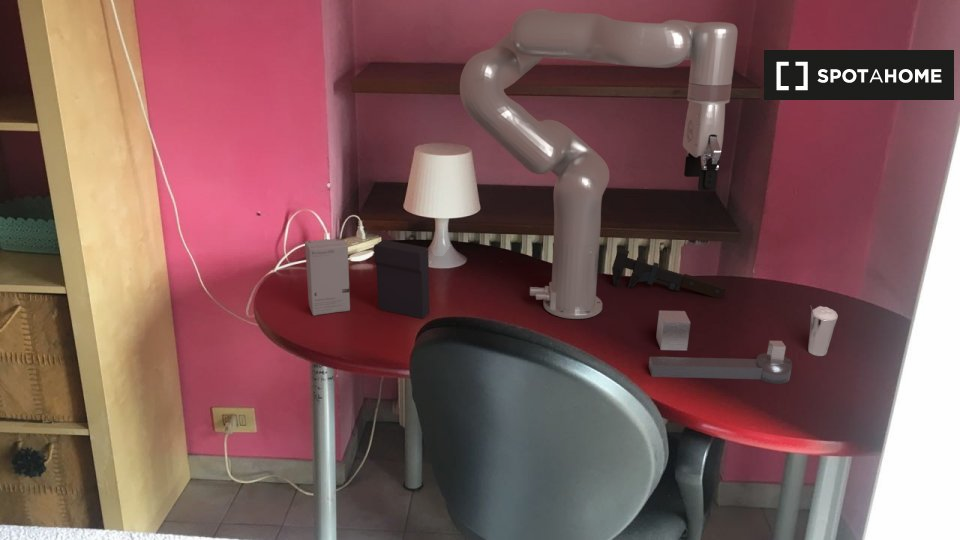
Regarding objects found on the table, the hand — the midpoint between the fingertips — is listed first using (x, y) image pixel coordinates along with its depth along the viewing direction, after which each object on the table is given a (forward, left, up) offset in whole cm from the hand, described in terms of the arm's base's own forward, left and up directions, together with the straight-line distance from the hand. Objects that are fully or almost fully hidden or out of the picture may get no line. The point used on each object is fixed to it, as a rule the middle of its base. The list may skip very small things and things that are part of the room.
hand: (699, 183), depth 146 cm
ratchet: (+2, -21, -30) cm, 37 cm away
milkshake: (+23, -12, -30) cm, 39 cm away
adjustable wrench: (0, +16, -30) cm, 34 cm away
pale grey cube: (-4, -10, -30) cm, 32 cm away
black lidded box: (-58, +2, -30) cm, 66 cm away
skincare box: (-74, +3, -30) cm, 80 cm away
